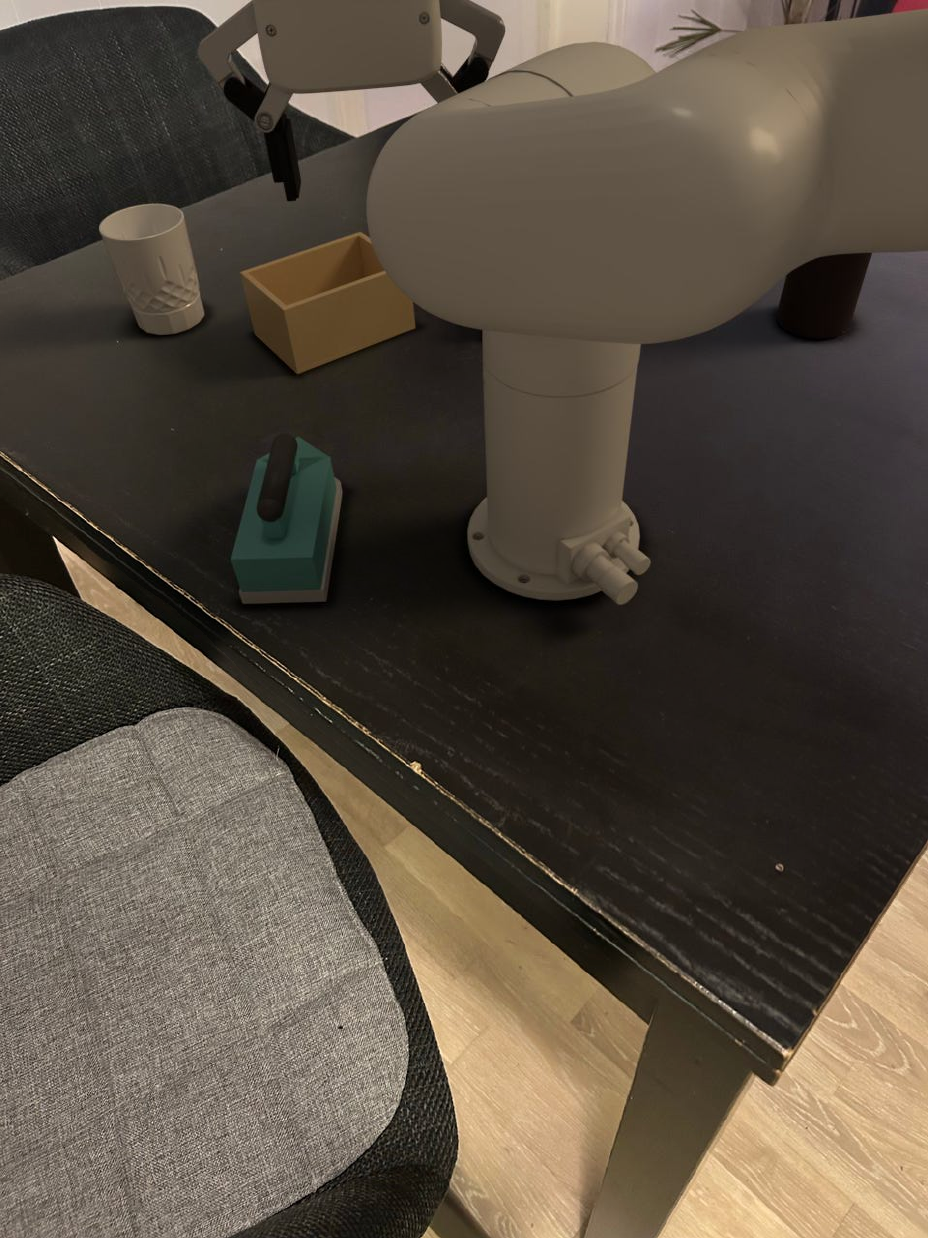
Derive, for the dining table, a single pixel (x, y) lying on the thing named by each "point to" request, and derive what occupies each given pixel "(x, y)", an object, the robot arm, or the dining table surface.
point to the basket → (325, 303)
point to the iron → (288, 526)
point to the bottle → (822, 295)
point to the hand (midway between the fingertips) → (370, 186)
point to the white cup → (155, 266)
